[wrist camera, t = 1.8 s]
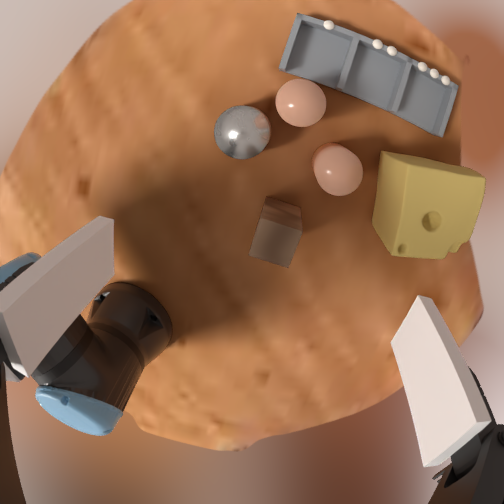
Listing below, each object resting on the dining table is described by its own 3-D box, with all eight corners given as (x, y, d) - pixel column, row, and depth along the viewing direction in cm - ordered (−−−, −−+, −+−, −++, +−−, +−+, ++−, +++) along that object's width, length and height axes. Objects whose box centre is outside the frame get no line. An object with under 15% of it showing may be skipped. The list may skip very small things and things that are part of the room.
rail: (279, 70, 31) (278, 67, 28) (297, 17, 27) (298, 10, 25) (434, 135, 31) (443, 137, 29) (450, 85, 28) (459, 84, 25)
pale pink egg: (272, 116, 33) (269, 117, 28) (284, 78, 31) (283, 72, 26) (312, 130, 34) (317, 133, 28) (325, 92, 31) (332, 88, 26)
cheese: (434, 231, 37) (467, 265, 28) (365, 224, 38) (385, 259, 29) (448, 159, 32) (489, 177, 23) (376, 145, 33) (404, 158, 24)
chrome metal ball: (216, 146, 36) (208, 150, 32) (229, 100, 33) (222, 99, 30) (263, 160, 36) (260, 165, 32) (277, 114, 33) (276, 114, 30)
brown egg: (306, 174, 36) (309, 186, 31) (319, 136, 34) (325, 141, 28) (343, 188, 36) (352, 202, 31) (357, 151, 34) (369, 159, 29)
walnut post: (256, 227, 40) (248, 255, 33) (266, 196, 38) (260, 217, 31) (288, 238, 40) (288, 268, 33) (300, 207, 38) (302, 231, 31)
